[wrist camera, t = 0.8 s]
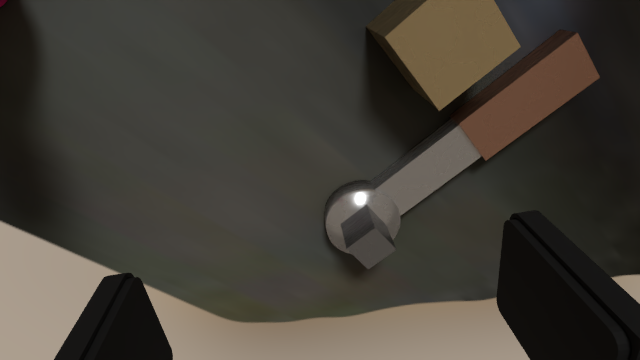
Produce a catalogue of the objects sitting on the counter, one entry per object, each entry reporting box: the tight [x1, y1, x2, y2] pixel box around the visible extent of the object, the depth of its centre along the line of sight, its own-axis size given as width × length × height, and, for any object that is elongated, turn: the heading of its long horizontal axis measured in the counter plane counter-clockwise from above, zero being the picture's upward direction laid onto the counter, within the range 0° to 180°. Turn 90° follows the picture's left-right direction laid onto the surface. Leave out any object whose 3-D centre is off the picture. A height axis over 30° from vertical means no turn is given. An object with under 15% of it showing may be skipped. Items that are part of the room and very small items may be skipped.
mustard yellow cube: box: [366, 0, 521, 111], centre depth 27 cm, size 6×6×6 cm
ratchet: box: [324, 30, 600, 269], centre depth 31 cm, size 24×6×6 cm, turn 131°
